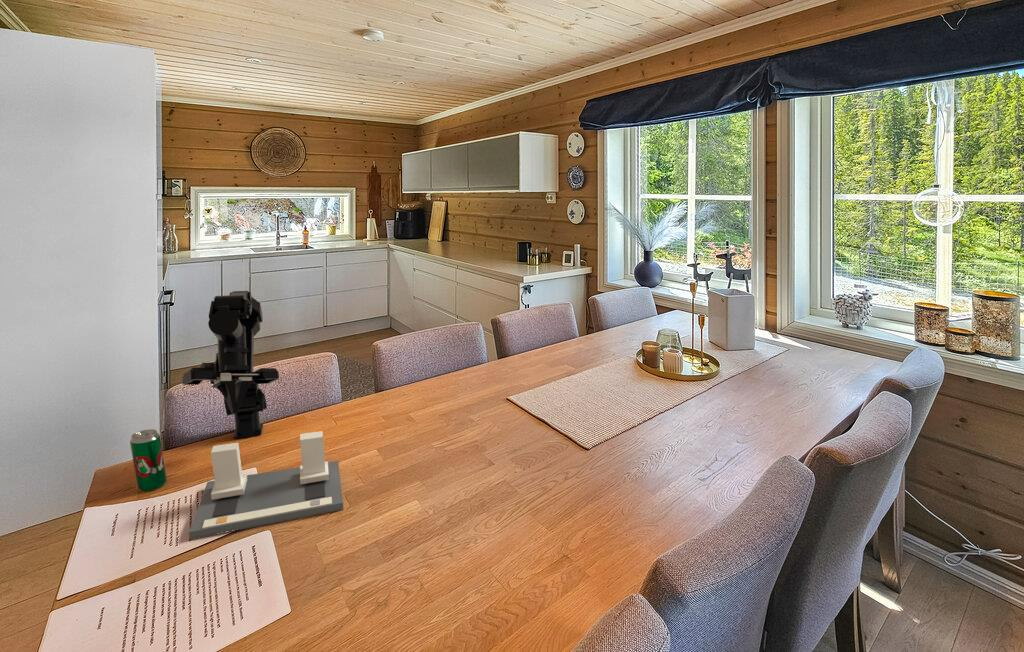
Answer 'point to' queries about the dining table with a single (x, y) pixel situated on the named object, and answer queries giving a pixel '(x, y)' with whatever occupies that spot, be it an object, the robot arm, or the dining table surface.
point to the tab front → (227, 471)
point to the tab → (313, 458)
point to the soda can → (148, 460)
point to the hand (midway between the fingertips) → (234, 413)
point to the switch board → (267, 502)
